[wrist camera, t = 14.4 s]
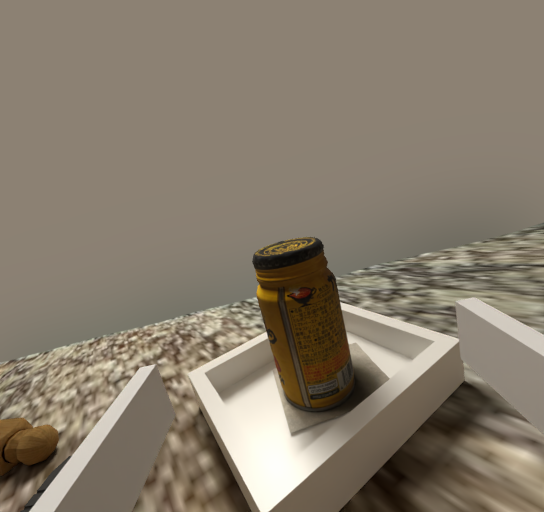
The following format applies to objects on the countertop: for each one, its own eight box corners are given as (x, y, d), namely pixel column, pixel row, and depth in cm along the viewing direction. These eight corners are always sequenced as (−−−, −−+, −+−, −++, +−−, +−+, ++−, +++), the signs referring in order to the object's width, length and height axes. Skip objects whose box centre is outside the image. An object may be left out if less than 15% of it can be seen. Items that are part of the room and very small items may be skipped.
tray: (334, 325, 33) (328, 298, 32) (464, 380, 21) (461, 339, 20) (199, 406, 25) (187, 373, 24) (281, 571, 13) (263, 516, 12)
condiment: (272, 371, 25) (238, 249, 23) (356, 344, 26) (332, 223, 24) (290, 436, 18) (244, 270, 16) (403, 395, 19) (378, 232, 17)
